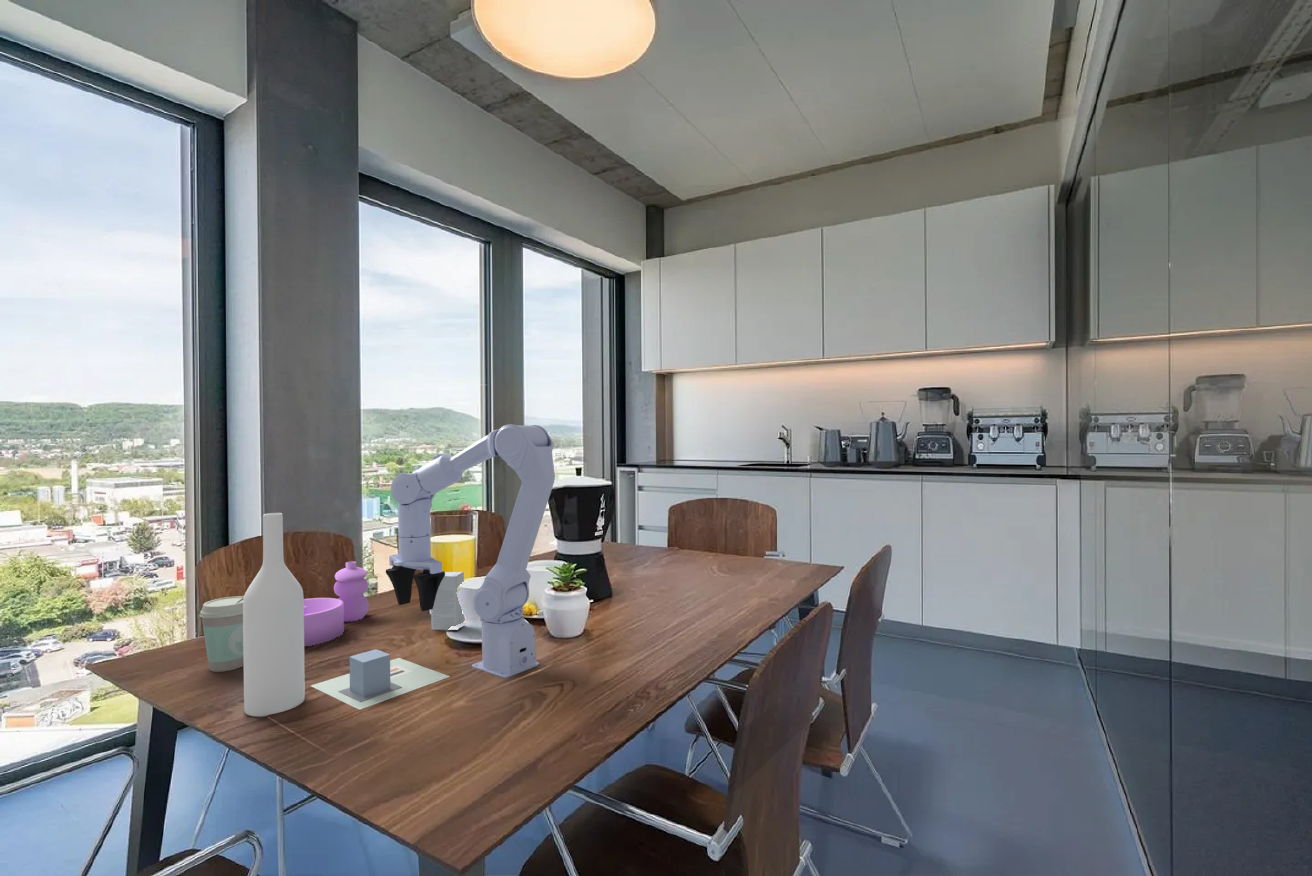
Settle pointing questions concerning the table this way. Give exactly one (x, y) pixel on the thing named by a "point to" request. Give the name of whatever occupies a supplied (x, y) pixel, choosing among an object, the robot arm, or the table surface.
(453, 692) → the table surface
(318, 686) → the mat
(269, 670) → the bottle
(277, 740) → the table surface
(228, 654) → the coffee cup
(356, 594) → the container set
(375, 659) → the blue-grey rectangular block
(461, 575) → the skincare box
